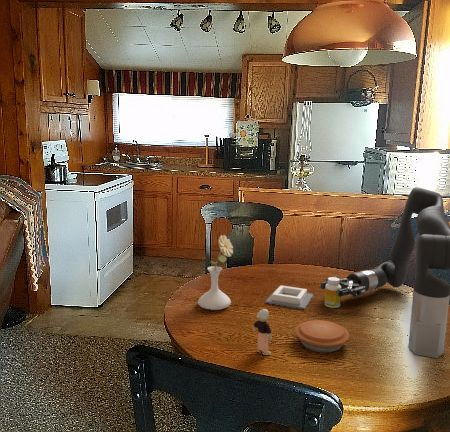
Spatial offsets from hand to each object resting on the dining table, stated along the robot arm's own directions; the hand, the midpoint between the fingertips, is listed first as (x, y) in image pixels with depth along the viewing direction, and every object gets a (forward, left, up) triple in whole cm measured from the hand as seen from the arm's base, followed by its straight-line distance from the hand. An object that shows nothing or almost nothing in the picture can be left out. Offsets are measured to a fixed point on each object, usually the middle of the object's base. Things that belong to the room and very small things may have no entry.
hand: (329, 289), depth 160 cm
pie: (-29, -3, -6) cm, 30 cm away
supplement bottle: (+1, -1, -6) cm, 6 cm away
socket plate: (0, +14, -6) cm, 15 cm away
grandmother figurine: (-41, +11, -6) cm, 43 cm away
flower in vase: (-16, +36, -6) cm, 40 cm away
